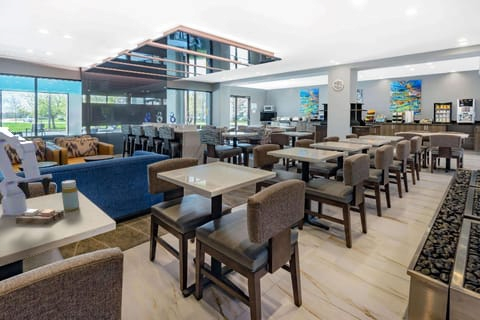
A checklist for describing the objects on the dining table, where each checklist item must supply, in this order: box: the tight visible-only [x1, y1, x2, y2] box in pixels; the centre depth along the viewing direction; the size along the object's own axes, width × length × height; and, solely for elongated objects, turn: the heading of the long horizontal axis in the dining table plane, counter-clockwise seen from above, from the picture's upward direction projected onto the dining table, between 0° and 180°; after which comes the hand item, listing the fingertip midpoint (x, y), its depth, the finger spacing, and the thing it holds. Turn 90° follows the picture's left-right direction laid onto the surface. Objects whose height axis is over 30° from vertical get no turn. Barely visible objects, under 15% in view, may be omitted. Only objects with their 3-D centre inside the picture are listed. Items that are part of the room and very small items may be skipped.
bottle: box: [61, 179, 80, 212], centre depth 145 cm, size 7×7×15 cm
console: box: [14, 209, 65, 226], centre depth 133 cm, size 16×10×3 cm, turn 87°
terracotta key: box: [41, 208, 56, 216], centre depth 133 cm, size 4×4×3 cm
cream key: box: [24, 208, 40, 216], centre depth 133 cm, size 4×4×3 cm
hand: (37, 195), depth 131 cm, fingers open, 7 cm apart
